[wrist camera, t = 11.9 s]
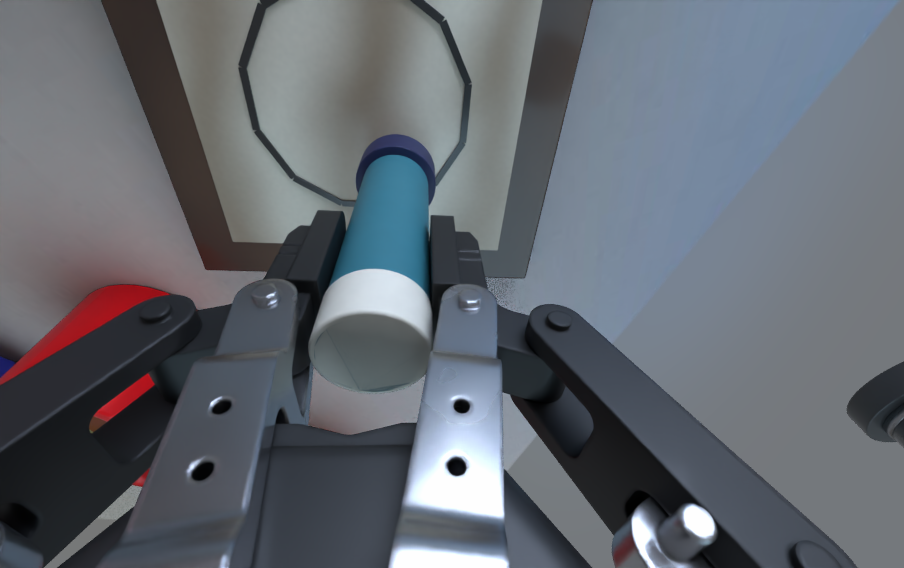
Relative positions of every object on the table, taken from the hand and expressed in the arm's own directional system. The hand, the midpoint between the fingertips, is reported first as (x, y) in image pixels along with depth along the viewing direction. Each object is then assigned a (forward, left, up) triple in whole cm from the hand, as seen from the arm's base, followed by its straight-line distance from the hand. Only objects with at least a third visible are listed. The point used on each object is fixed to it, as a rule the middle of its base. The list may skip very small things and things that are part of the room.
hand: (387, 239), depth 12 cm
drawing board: (+2, -2, -9) cm, 9 cm away
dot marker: (0, 0, -6) cm, 6 cm away
